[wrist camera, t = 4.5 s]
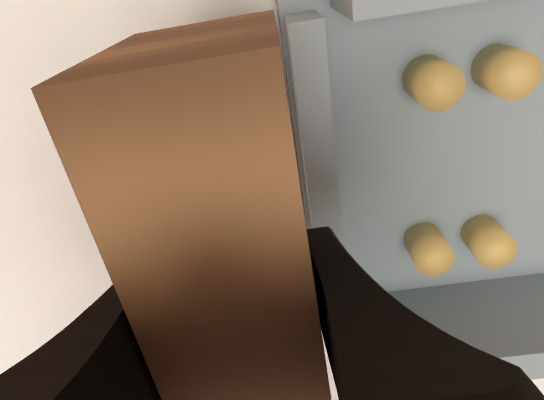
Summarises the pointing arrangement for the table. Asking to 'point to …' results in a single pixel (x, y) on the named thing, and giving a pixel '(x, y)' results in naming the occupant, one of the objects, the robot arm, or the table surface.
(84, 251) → the table surface
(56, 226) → the table surface
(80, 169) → the board
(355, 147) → the peg stand
